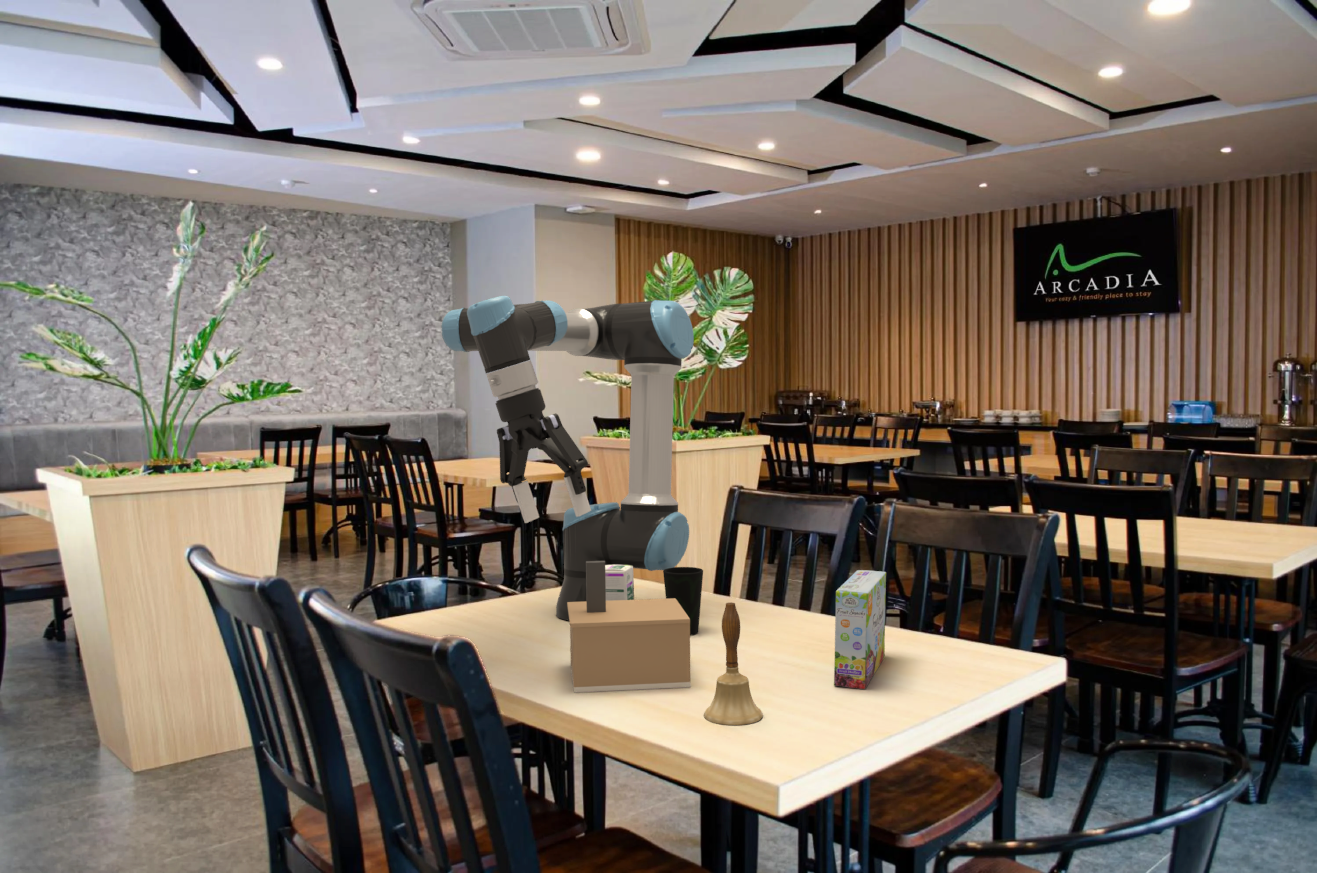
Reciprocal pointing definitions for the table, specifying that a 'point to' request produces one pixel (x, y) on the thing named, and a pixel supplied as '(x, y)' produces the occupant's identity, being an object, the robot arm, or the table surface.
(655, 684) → the carton
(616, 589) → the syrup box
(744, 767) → the table surface
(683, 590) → the cup
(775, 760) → the table surface
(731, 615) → the hand bell
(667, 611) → the carton flap
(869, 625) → the snack box
